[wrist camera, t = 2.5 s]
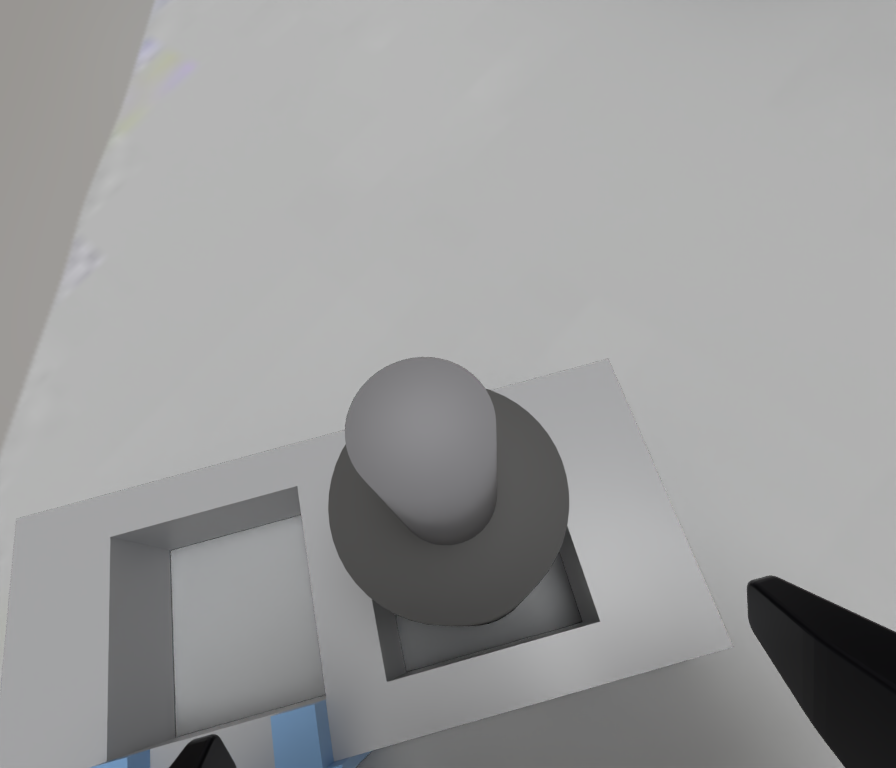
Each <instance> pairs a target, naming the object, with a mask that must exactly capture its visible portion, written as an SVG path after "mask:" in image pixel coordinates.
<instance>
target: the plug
mask: <svg viewBox="0 0 896 768" xmlns="http://www.w3.org/2000/svg"><path fill="white" fill-rule="evenodd" d="M345 442H346V444H345V446H344V448H343V449H342V451H341V453H340V456H339V458H338V460H337V463H336V465H335V468H334V472H333V475H332V478H331V484H330V490H329V500H328V514H329V525H330V530H331V534H332V539H333V542H334V545H335V548H336V550H337V553H338V556H339V558H340V560H341V561H342V563H343V565H344V567H345V569H346V571H347V572H348V573H349V575H350V576H351V578H352V579H353V580H354V582H355V583H356V584H357V585H358V586H359V587H360V588H361V589H362V590H363V591H364V593H365V594H366V595H367V596H369V597H370V598H371V599H373V600H374V601H375V602H376V603H378V604H379V605H380V606H382V607H384V608H385V609H387V610H389V611H391V612H392V613H394V614H396V615H399V616H401V617H404V618H406V619H409V620H412V621H416V622H420V623H425V624H431V625H443V626H476V625H484V624H489V623H491V622H494V621H497V620H499V619H501V618H503V617H505V616H506V615H507V614H509V613H510V612H512V611H513V610H514V609H515V608H516V607H517V606H518V605H519V604H520V603H521V602H522V601H523V600H524V599H525V598H526V597H527V596H528V595H529V593H530V592H531V591H532V590H533V589H534V588H535V587H536V586H537V585H538V584H539V583H540V581H541V580H542V579H543V577H544V576H545V575H546V574H547V572H548V571H549V569H550V567H551V566H552V564H553V562H554V561H555V559H556V557H557V555H558V552H559V550H560V548H561V545H562V543H563V540H564V536H565V532H566V528H567V524H568V516H569V488H568V482H567V476H566V472H565V469H564V465H563V462H562V459H561V457H560V455H559V453H558V450H557V448H556V446H555V444H554V443H553V441H552V439H551V438H550V436H549V434H548V433H547V432H546V431H545V429H544V428H543V427H542V426H541V424H540V423H539V422H538V421H537V420H536V419H535V418H534V417H533V416H532V415H531V414H530V413H529V412H528V411H526V410H525V409H524V408H522V407H521V406H520V405H519V404H517V403H516V402H514V401H512V400H510V399H509V398H507V397H505V396H503V395H501V394H499V393H496V392H494V391H491V390H488V389H485V387H484V386H483V385H482V384H481V382H480V381H479V380H478V379H477V378H476V377H475V376H474V375H473V374H472V373H470V372H469V371H468V370H466V369H465V368H463V367H461V366H460V365H458V364H455V363H453V362H450V361H447V360H444V359H440V358H433V357H417V358H410V359H405V360H401V361H398V362H395V363H393V364H391V365H389V366H386V367H385V368H383V369H381V370H380V371H378V372H377V373H376V374H374V375H373V376H372V377H371V378H370V379H369V380H368V381H367V382H366V383H365V384H364V385H363V386H362V387H361V388H360V390H359V391H358V392H357V394H356V396H355V397H354V399H353V401H352V403H351V405H350V408H349V411H348V414H347V418H346V424H345Z"/></svg>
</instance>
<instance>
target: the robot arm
mask: <svg viewBox="0 0 896 768" xmlns="http://www.w3.org/2000/svg"><path fill="white" fill-rule="evenodd" d="M747 603H748V619H749V623H750V626H751V628H752V630H753V632H754V634H755V635H756V637H757V639H758V640H759V642H760V643H761V645H762V646H763V648H764V650H765V651H766V653H767V654H768V656H769V657H770V659H771V661H772V662H773V664H774V665H775V667H776V668H777V670H778V672H779V673H780V675H781V676H782V678H783V679H784V681H785V683H786V684H787V686H788V687H789V689H790V690H791V692H792V694H793V695H794V697H795V698H796V700H797V701H798V703H799V705H800V706H801V708H802V709H803V711H804V712H805V714H806V715H807V717H808V718H809V720H810V721H811V723H812V724H813V726H814V727H815V728H816V730H817V731H818V733H819V734H820V735H821V737H822V738H823V739H824V741H825V742H826V743H827V745H828V746H829V747H830V748H831V750H832V751H833V752H834V754H835V755H836V756H837V758H838V759H839V760H840V761H841V763H842V764H843V765H844V767H845V768H896V632H895V631H892V630H890V629H888V628H886V627H884V626H882V625H880V624H877V623H875V622H873V621H871V620H869V619H867V618H865V617H862V616H860V615H858V614H856V613H854V612H852V611H849V610H847V609H845V608H843V607H841V606H839V605H837V604H834V603H832V602H830V601H828V600H826V599H824V598H821V597H819V596H817V595H815V594H813V593H811V592H809V591H806V590H804V589H802V588H800V587H798V586H796V585H794V584H791V583H789V582H787V581H785V580H783V579H781V578H778V577H776V576H765V577H762V578H758V579H755V580H751V581H750V582H749V583H748V585H747ZM169 768H237V767H236V764H235V762H234V760H233V759H232V757H231V755H230V754H229V752H228V750H227V748H226V747H225V745H224V743H223V741H222V740H221V738H220V737H219V736H218V735H216V734H210V735H207V736H203V737H200V738H196V739H194V740H192V741H190V742H189V743H188V744H187V745H186V746H185V747H184V749H183V750H182V751H181V752H180V754H179V755H178V756H177V758H176V759H175V760H174V762H173V763H172V764H171V766H170V767H169Z"/></svg>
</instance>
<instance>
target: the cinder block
mask: <svg viewBox="0 0 896 768" xmlns="http://www.w3.org/2000/svg"><path fill="white" fill-rule="evenodd" d="M491 391H494V392H496V393H499V394H501V395H503V396H505V397H507V398H509V399H510V400H512V401H514V402H516V403H517V404H519V405H520V406H521V407H522V408H524V409H525V410H526V411H528V412H529V413H530V414H531V415H532V416H533V417H534V418H535V419H536V420H537V421H538V422H539V423H540V424H541V426H542V427H543V428H544V429H545V431H546V432H547V433H548V434H549V436H550V438H551V439H552V441H553V443H554V444H555V446H556V448H557V450H558V453H559V455H560V457H561V459H562V462H563V465H564V469H565V472H566V476H567V482H568V488H569V516H568V524H567V528H566V532H565V536H564V540H563V543H562V545H561V548H560V550H559V552H560V555H561V558H562V561H563V564H564V567H565V570H566V573H567V576H568V579H569V582H570V585H571V588H572V591H573V594H574V597H575V600H576V603H577V606H578V609H579V612H580V615H581V618H582V621H583V622H582V623H579V624H575V625H572V626H568V627H564V628H561V629H557V630H554V631H550V632H547V633H543V634H540V635H536V636H533V637H529V638H526V639H522V640H519V641H515V642H512V643H508V644H504V645H501V646H497V647H494V648H490V649H487V650H483V651H480V652H476V653H473V654H469V655H466V656H462V657H459V658H455V659H452V660H448V661H444V662H441V663H437V664H434V665H430V666H427V667H423V668H420V669H416V670H413V671H409V672H406V669H405V664H404V658H403V653H402V648H401V643H400V638H399V633H398V628H397V623H396V617H395V614H394V613H392V612H391V611H389V610H387V609H385V608H384V607H382V606H380V605H379V604H378V603H376V602H375V601H374V600H373V599H371V598H370V597H369V596H367V595H366V594H365V593H364V591H363V590H362V589H361V588H360V587H359V586H358V585H357V584H356V583H355V582H354V580H353V579H352V578H351V576H350V575H349V573H348V572H347V571H346V569H345V567H344V565H343V563H342V561H341V560H340V558H339V556H338V553H337V550H336V548H335V545H334V542H333V539H332V534H331V530H330V525H329V514H328V500H329V490H330V484H331V478H332V475H333V472H334V468H335V465H336V463H337V460H338V458H339V456H340V453H341V451H342V449H343V448H344V446H345V444H346V442H345V430H342V431H338V432H335V433H331V434H327V435H324V436H320V437H316V438H312V439H309V440H305V441H301V442H298V443H294V444H290V445H287V446H283V447H279V448H275V449H272V450H268V451H264V452H261V453H257V454H253V455H250V456H246V457H242V458H239V459H235V460H231V461H227V462H224V463H220V464H216V465H213V466H209V467H205V468H202V469H198V470H194V471H190V472H187V473H183V474H179V475H176V476H172V477H168V478H165V479H161V480H157V481H153V482H150V483H146V484H142V485H139V486H135V487H131V488H128V489H124V490H120V491H117V492H113V493H109V494H105V495H102V496H98V497H94V498H91V499H87V500H83V501H80V502H76V503H72V504H68V505H65V506H61V507H57V508H54V509H50V510H46V511H43V512H39V513H35V514H31V515H28V516H24V517H20V518H17V519H16V526H15V537H14V547H13V558H12V569H11V580H10V591H9V602H8V613H7V624H6V635H5V646H4V657H3V668H2V678H1V689H0V768H169V767H170V766H171V764H172V763H173V762H174V760H175V759H176V758H177V756H178V755H179V754H180V752H181V751H182V750H183V749H184V747H185V746H186V745H187V744H188V743H189V742H190V741H192V740H194V739H196V738H200V737H203V736H207V735H210V734H216V735H218V736H219V737H220V738H221V740H222V741H223V743H224V745H225V747H226V748H227V750H228V752H229V754H230V755H231V757H232V759H233V760H234V762H235V764H236V767H237V768H355V767H356V766H357V765H358V764H359V763H360V762H361V761H362V760H363V759H364V758H365V757H366V756H367V755H368V754H369V753H370V752H371V751H373V750H377V749H380V748H384V747H387V746H390V745H394V744H397V743H401V742H404V741H408V740H411V739H415V738H418V737H422V736H425V735H429V734H432V733H436V732H439V731H443V730H446V729H450V728H453V727H457V726H460V725H464V724H467V723H471V722H474V721H478V720H481V719H485V718H488V717H492V716H495V715H499V714H502V713H506V712H509V711H513V710H516V709H520V708H523V707H527V706H530V705H534V704H537V703H541V702H544V701H547V700H551V699H554V698H558V697H561V696H565V695H568V694H572V693H575V692H579V691H582V690H586V689H589V688H593V687H596V686H600V685H603V684H607V683H610V682H614V681H617V680H621V679H624V678H628V677H631V676H635V675H638V674H642V673H645V672H649V671H652V670H656V669H659V668H663V667H666V666H670V665H673V664H677V663H680V662H684V661H687V660H691V659H694V658H698V657H701V656H705V655H708V654H711V653H715V652H718V651H722V650H725V649H729V648H732V647H734V646H733V644H732V641H731V639H730V637H729V634H728V632H727V630H726V627H725V625H724V623H723V621H722V618H721V616H720V614H719V611H718V609H717V607H716V604H715V602H714V600H713V598H712V595H711V593H710V591H709V588H708V586H707V584H706V581H705V579H704V577H703V575H702V572H701V570H700V568H699V565H698V563H697V561H696V558H695V556H694V554H693V552H692V549H691V547H690V545H689V542H688V540H687V538H686V536H685V533H684V531H683V529H682V526H681V524H680V522H679V519H678V517H677V515H676V513H675V510H674V508H673V506H672V503H671V501H670V499H669V496H668V494H667V492H666V490H665V487H664V485H663V483H662V480H661V478H660V476H659V473H658V471H657V469H656V467H655V464H654V462H653V460H652V457H651V455H650V453H649V450H648V448H647V446H646V444H645V441H644V439H643V437H642V434H641V432H640V430H639V427H638V425H637V423H636V421H635V418H634V416H633V414H632V411H631V409H630V407H629V405H628V402H627V400H626V398H625V395H624V393H623V391H622V388H621V386H620V384H619V382H618V379H617V377H616V375H615V372H614V370H613V368H612V365H611V363H610V361H609V359H605V360H601V361H597V362H593V363H590V364H586V365H582V366H579V367H575V368H571V369H568V370H564V371H560V372H556V373H553V374H549V375H545V376H542V377H538V378H534V379H531V380H527V381H523V382H519V383H516V384H512V385H508V386H505V387H501V388H497V389H494V390H491ZM298 515H301V517H302V524H303V532H304V539H305V546H306V554H307V561H308V569H309V576H310V583H311V591H312V598H313V605H314V613H315V620H316V628H317V635H318V642H319V650H320V657H321V664H322V672H323V679H324V687H325V694H326V695H324V696H321V697H317V698H314V699H310V700H307V701H303V702H300V703H296V704H293V705H289V706H286V707H282V708H279V709H275V710H271V711H268V712H264V713H261V714H257V715H254V716H250V717H247V718H243V719H240V720H236V721H233V722H229V723H226V724H222V725H218V726H215V727H211V728H208V729H204V730H201V731H197V732H194V733H190V734H187V735H183V736H180V737H175V703H174V670H173V637H172V603H171V570H170V550H173V549H177V548H181V547H184V546H188V545H192V544H195V543H199V542H203V541H206V540H210V539H214V538H217V537H221V536H225V535H228V534H232V533H236V532H239V531H243V530H246V529H250V528H254V527H257V526H261V525H265V524H268V523H272V522H276V521H279V520H283V519H287V518H290V517H294V516H298Z"/></svg>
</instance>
